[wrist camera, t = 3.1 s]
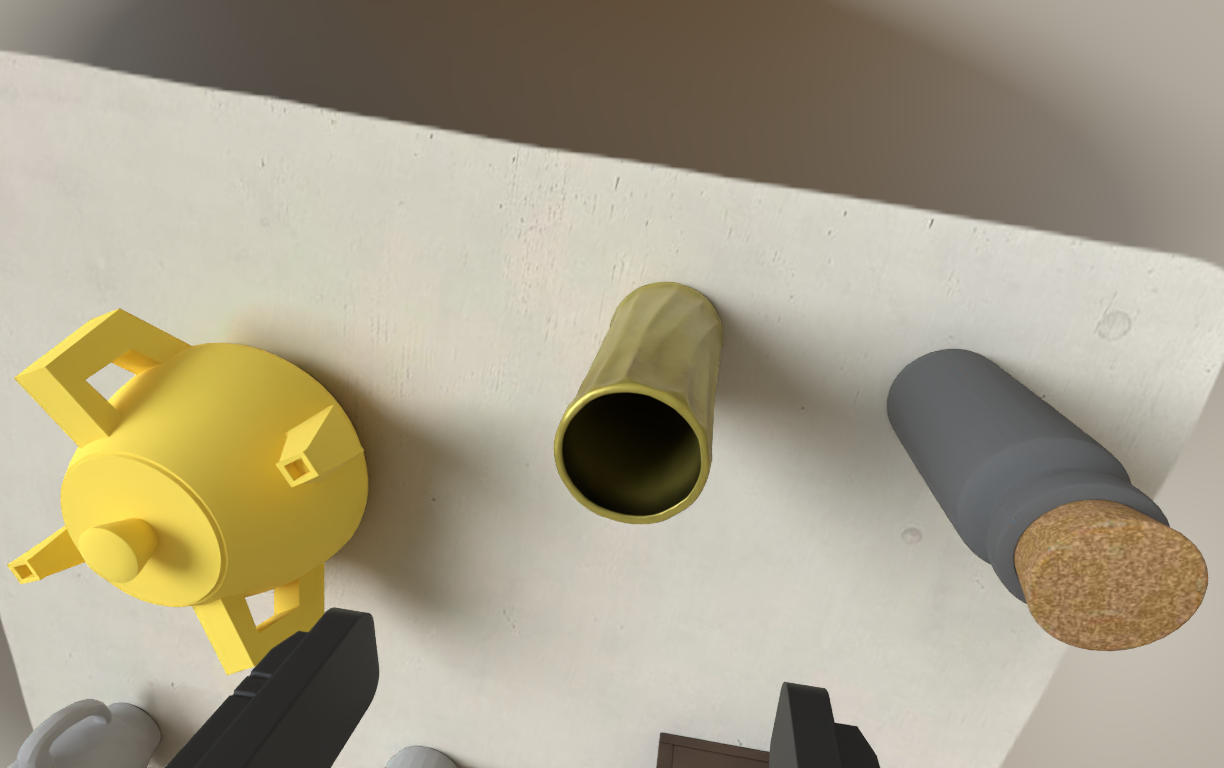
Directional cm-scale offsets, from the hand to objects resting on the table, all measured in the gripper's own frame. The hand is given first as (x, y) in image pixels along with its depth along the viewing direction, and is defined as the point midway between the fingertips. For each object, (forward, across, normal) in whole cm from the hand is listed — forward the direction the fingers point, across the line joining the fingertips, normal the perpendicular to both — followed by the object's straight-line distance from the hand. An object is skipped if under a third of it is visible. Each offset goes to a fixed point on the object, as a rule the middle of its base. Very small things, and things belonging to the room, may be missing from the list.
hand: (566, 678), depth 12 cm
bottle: (+23, -15, +2) cm, 28 cm away
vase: (+24, 0, 0) cm, 24 cm away
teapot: (+24, +25, +10) cm, 36 cm away
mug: (+24, +43, +38) cm, 62 cm away
